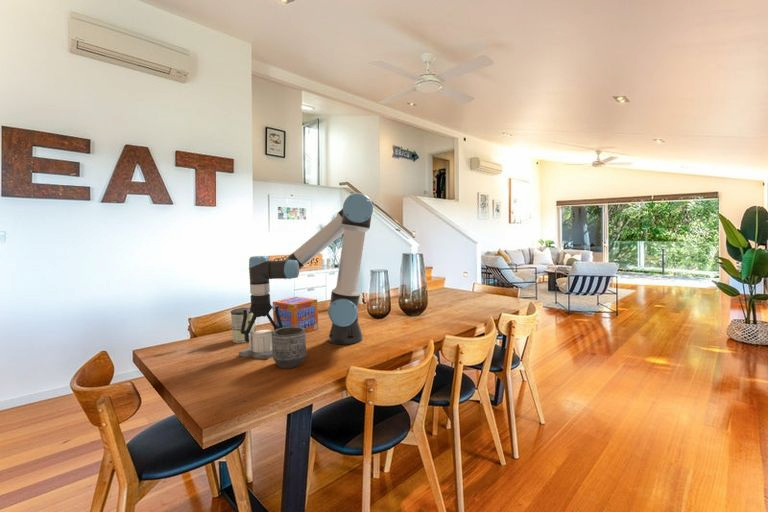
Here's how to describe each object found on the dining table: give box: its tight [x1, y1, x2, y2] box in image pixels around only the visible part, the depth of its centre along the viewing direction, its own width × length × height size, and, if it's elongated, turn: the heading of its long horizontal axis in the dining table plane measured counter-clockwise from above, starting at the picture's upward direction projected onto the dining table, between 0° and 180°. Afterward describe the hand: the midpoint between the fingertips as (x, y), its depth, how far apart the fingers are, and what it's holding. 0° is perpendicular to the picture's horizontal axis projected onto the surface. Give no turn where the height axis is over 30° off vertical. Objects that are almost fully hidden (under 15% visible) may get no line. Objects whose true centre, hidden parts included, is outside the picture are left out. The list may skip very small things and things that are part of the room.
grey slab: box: [238, 346, 273, 360], centre depth 152 cm, size 14×12×6 cm
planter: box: [272, 327, 307, 369], centre depth 138 cm, size 12×12×13 cm
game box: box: [272, 296, 319, 334], centre depth 185 cm, size 16×16×16 cm
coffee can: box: [230, 307, 256, 344], centre depth 171 cm, size 10×10×14 cm
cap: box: [251, 329, 273, 353], centre depth 152 cm, size 8×8×7 cm
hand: (262, 348), depth 152 cm, fingers open, 9 cm apart
